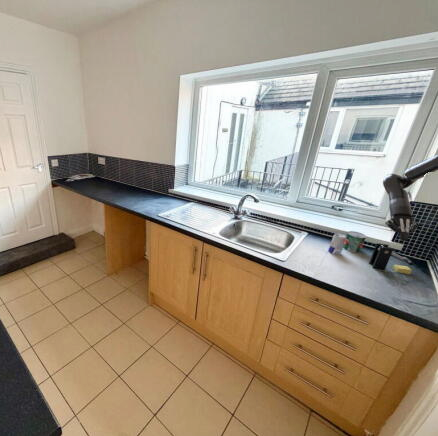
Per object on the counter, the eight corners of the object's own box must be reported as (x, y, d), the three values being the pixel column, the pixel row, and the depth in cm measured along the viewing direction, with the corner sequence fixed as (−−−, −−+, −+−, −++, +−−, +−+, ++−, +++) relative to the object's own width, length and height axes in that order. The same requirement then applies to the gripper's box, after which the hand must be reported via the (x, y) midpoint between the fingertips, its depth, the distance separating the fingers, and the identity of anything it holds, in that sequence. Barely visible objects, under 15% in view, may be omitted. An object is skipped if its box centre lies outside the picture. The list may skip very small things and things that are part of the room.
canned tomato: (338, 247, 139) (344, 230, 135) (354, 249, 138) (360, 231, 134) (345, 254, 132) (352, 236, 128) (362, 256, 131) (369, 238, 126)
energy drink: (328, 251, 135) (335, 232, 130) (340, 255, 131) (347, 235, 127) (326, 255, 131) (333, 235, 127) (338, 258, 128) (345, 238, 123)
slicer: (384, 267, 120) (393, 244, 116) (392, 275, 113) (403, 251, 109) (359, 263, 124) (367, 240, 119) (366, 271, 117) (375, 247, 112)
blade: (404, 261, 115) (408, 257, 114) (410, 266, 111) (415, 262, 110) (375, 247, 118) (379, 243, 117) (381, 252, 113) (385, 248, 112)
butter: (405, 271, 116) (407, 266, 115) (409, 275, 113) (412, 270, 112) (392, 269, 118) (394, 264, 117) (396, 272, 114) (398, 268, 113)
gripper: (388, 203, 122) (392, 235, 116) (422, 206, 118) (428, 239, 111) (379, 210, 129) (382, 240, 122) (411, 213, 124) (416, 245, 118)
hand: (404, 240), depth 117 cm, fingers closed
